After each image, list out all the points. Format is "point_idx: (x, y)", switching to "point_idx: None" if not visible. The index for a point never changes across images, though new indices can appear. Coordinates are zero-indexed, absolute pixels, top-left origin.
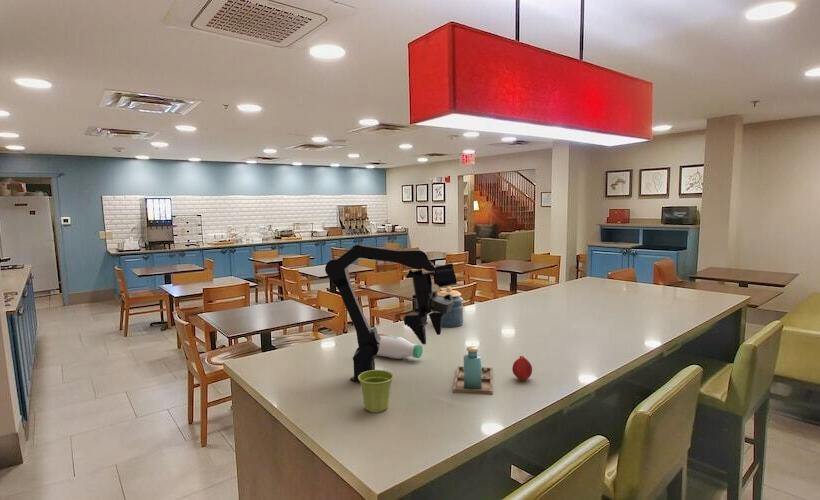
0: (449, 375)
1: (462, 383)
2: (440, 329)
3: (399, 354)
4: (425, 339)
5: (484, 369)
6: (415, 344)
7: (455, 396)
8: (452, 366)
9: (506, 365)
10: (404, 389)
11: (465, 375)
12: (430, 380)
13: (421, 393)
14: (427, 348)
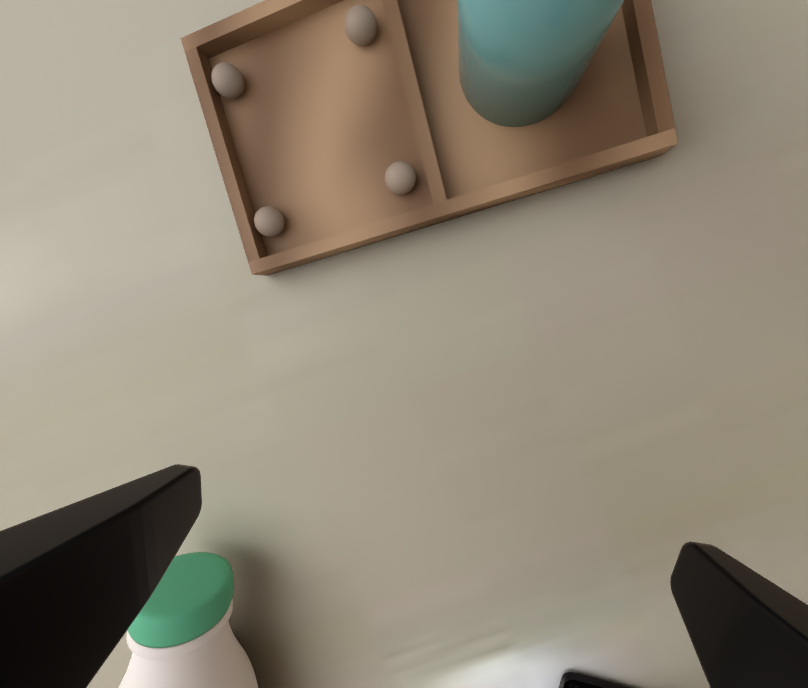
0: (363, 294)
1: (492, 150)
2: (111, 505)
3: (250, 683)
4: (787, 608)
5: (234, 76)
6: (143, 652)
7: (697, 124)
8: (217, 330)
9: (57, 11)
10: (688, 470)
11: (602, 38)
12: (487, 375)
13: (718, 350)
14: None
